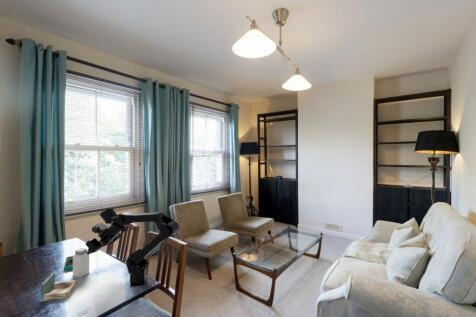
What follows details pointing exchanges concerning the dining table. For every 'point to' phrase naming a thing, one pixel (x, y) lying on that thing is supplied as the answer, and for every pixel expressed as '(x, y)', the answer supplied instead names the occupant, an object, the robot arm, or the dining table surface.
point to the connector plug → (80, 262)
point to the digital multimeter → (68, 264)
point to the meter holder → (56, 288)
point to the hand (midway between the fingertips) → (94, 250)
